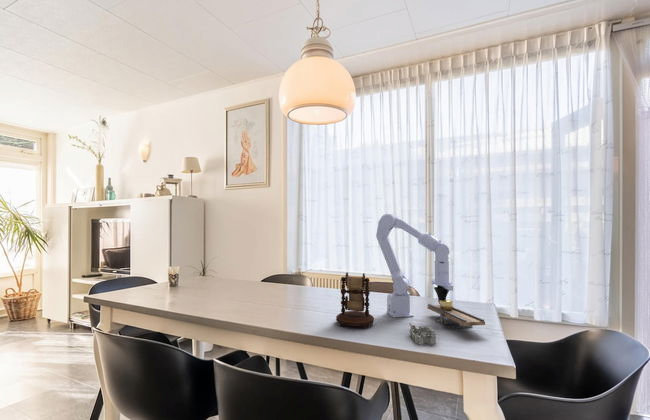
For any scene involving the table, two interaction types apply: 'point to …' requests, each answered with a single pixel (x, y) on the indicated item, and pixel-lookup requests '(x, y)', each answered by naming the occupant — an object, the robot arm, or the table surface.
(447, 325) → the pivot bracket
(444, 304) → the brass weight
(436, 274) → the robot arm
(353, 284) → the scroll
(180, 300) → the table surface
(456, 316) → the beam
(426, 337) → the egg carton
